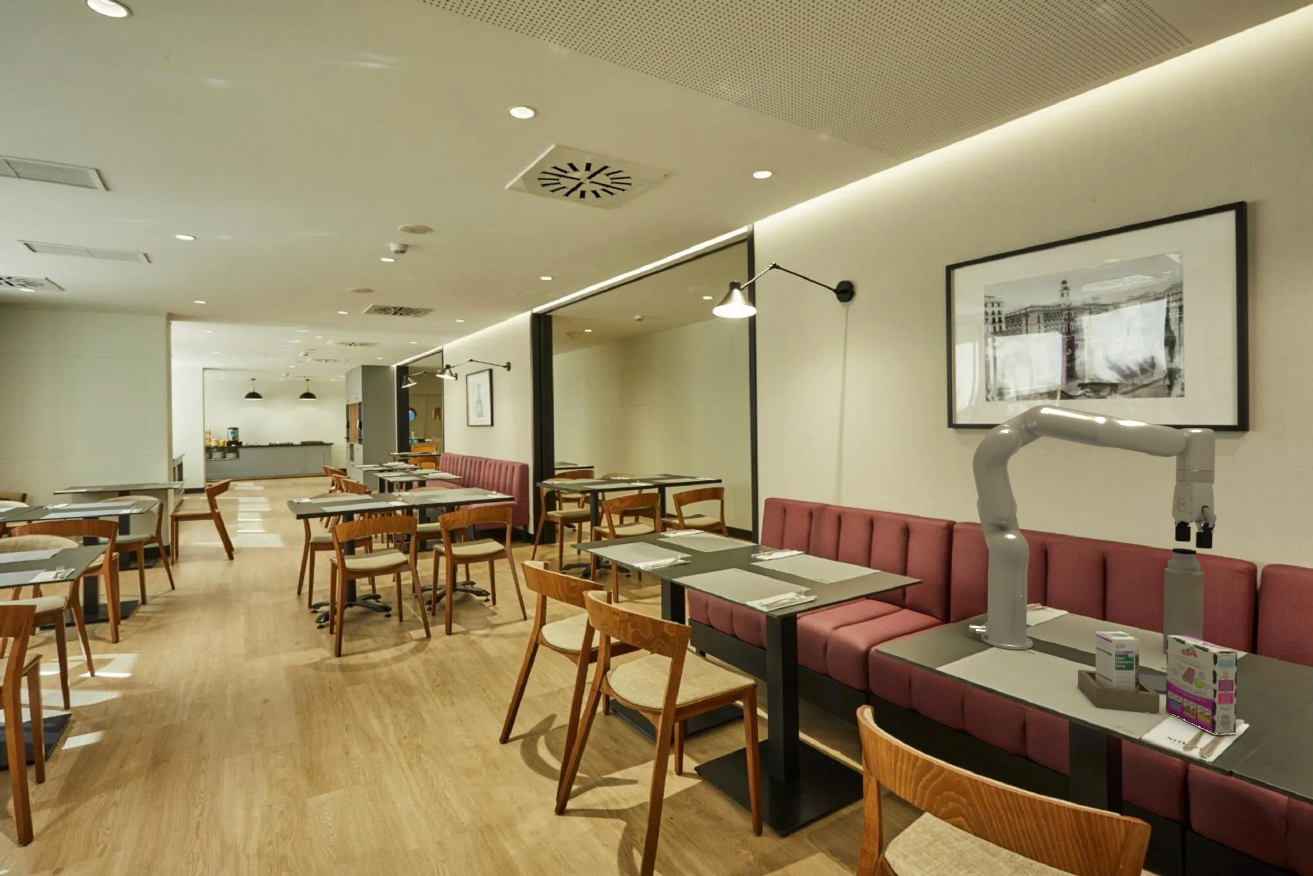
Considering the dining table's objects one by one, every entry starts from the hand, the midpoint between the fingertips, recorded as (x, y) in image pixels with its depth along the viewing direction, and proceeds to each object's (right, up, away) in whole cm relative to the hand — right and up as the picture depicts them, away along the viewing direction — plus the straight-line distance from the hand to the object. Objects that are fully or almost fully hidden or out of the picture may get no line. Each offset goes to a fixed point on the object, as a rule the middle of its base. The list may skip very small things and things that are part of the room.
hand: (1193, 544), depth 164 cm
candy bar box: (-26, -31, -32) cm, 52 cm away
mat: (-19, -30, -14) cm, 39 cm away
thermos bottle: (+3, -30, +6) cm, 31 cm away
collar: (-35, -31, -21) cm, 51 cm away
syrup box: (-35, -31, -21) cm, 51 cm away
